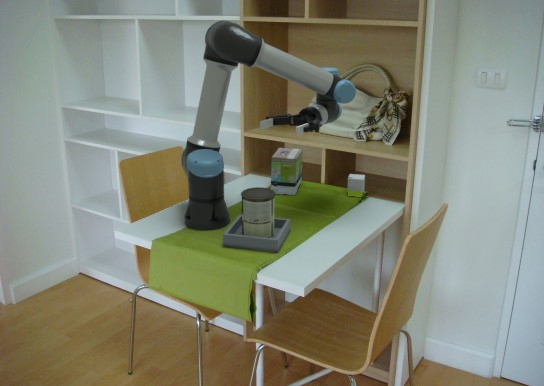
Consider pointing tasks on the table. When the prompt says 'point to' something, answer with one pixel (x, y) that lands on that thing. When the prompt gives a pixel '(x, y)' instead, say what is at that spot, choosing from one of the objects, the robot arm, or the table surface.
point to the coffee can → (258, 212)
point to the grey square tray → (237, 240)
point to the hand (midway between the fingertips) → (278, 128)
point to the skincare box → (356, 182)
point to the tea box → (286, 171)
